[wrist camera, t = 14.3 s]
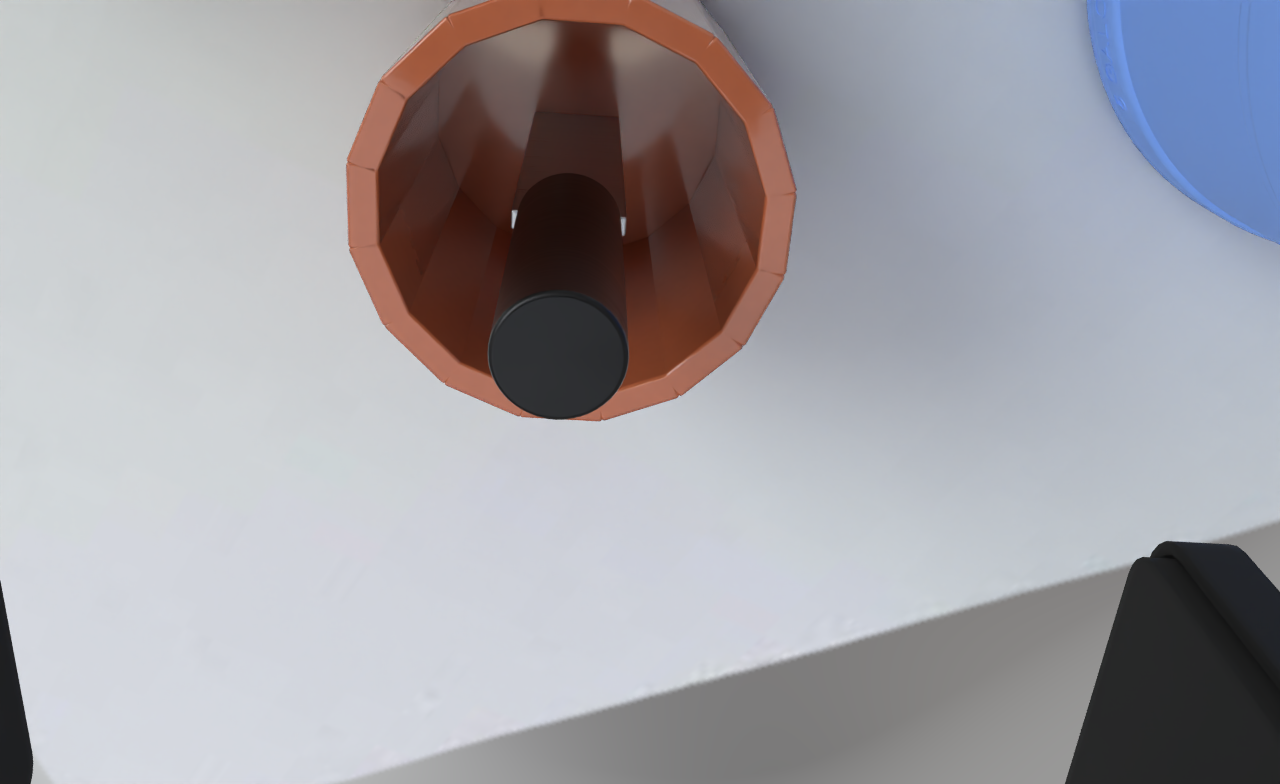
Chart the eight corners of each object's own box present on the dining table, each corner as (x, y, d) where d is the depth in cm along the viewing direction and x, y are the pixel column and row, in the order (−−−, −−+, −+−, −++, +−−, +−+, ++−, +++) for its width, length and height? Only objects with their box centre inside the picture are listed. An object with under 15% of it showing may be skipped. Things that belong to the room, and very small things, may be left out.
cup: (754, -45, 30) (823, 6, 21) (720, 271, 33) (765, 431, 24) (419, -71, 29) (339, -31, 20) (419, 252, 33) (352, 408, 24)
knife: (621, 85, 30) (642, 296, 16) (616, 162, 31) (630, 426, 17) (535, 79, 30) (481, 287, 16) (532, 157, 31) (478, 417, 17)
